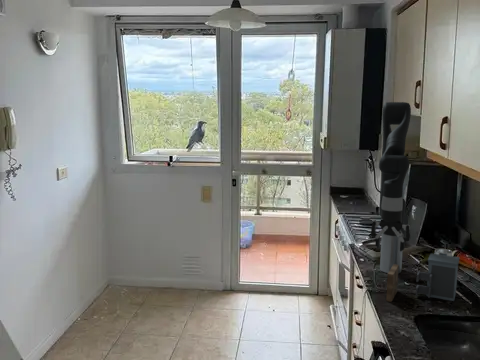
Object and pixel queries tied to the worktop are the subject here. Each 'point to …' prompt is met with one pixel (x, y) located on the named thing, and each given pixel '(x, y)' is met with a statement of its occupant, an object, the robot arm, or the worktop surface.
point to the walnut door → (392, 283)
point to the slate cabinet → (439, 277)
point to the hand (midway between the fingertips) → (389, 249)
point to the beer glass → (443, 252)
